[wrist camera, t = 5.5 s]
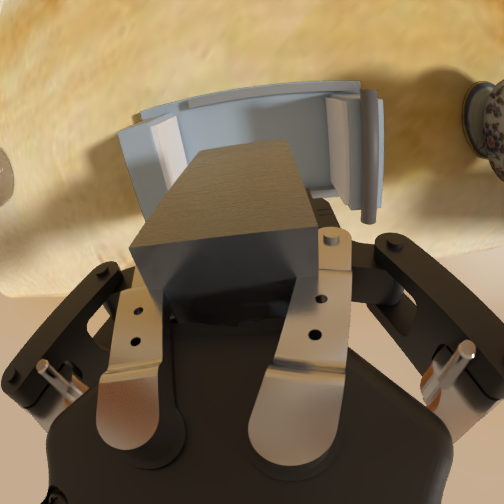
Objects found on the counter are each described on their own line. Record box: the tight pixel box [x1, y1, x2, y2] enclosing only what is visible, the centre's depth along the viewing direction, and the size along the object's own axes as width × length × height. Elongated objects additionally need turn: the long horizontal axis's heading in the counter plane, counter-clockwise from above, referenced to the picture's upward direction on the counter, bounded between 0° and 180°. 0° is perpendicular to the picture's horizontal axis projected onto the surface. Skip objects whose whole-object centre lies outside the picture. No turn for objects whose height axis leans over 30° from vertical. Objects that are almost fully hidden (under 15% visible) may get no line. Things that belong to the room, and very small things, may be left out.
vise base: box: [117, 81, 361, 222], centre depth 22 cm, size 20×11×7 cm, turn 98°
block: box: [129, 138, 319, 328], centre depth 10 cm, size 4×6×8 cm, turn 8°
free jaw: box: [325, 89, 384, 224], centre depth 20 cm, size 3×10×7 cm, turn 8°
